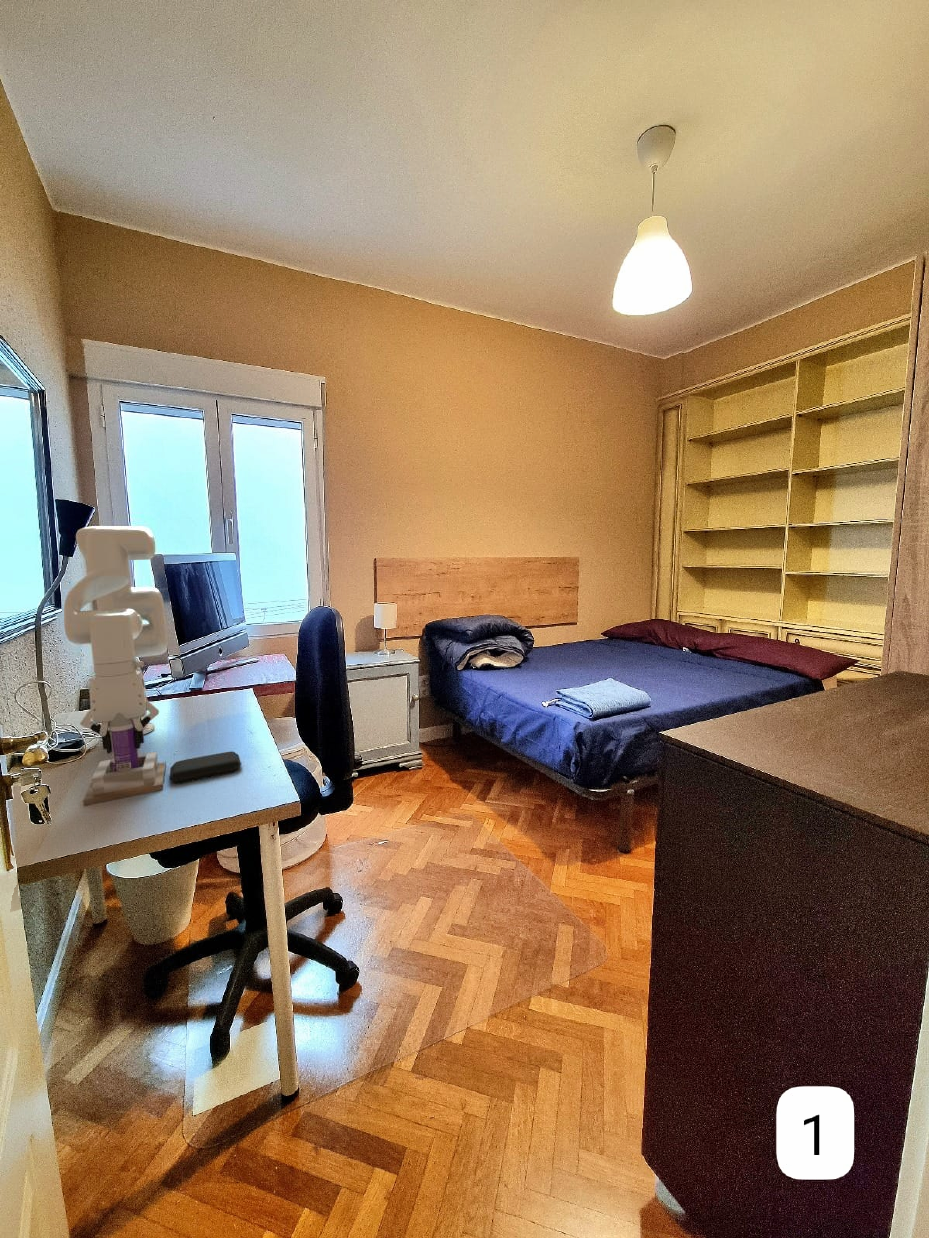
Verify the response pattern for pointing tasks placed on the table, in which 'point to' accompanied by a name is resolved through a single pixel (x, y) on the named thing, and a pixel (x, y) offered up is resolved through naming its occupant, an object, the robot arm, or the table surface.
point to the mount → (126, 780)
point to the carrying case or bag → (204, 767)
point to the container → (123, 743)
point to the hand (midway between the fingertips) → (124, 748)
